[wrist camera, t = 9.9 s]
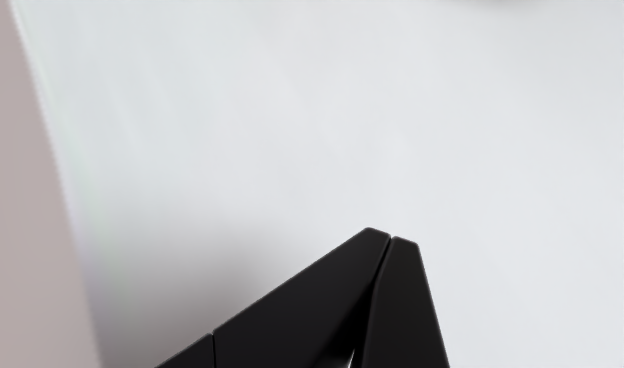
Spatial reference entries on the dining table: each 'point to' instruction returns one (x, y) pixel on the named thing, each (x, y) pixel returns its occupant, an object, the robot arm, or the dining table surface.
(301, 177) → the dining table surface
